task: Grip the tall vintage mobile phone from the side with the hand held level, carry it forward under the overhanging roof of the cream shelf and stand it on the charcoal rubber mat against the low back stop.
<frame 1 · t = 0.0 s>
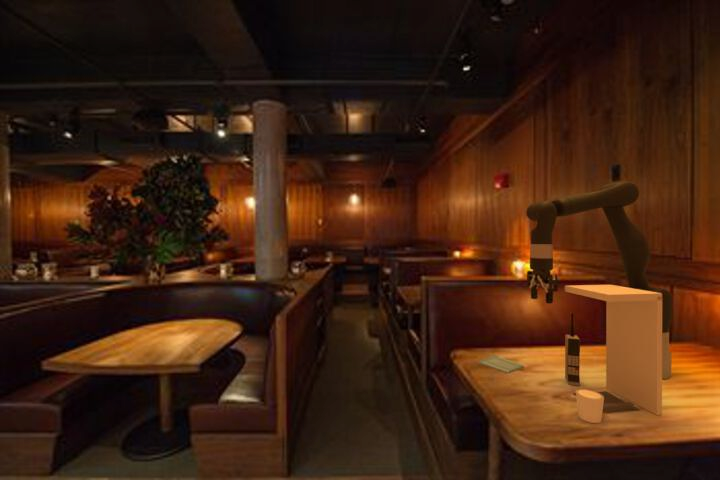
hand: (541, 301, 122), 29 cm above the table, tool pointing down, fingers open, 8 cm apart
vintage mobile phone: (572, 383, 121), on the table
overhang shelf: (604, 401, 107), on the table
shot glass: (589, 418, 98), on the table
waterproof phone case: (500, 366, 138), on the table
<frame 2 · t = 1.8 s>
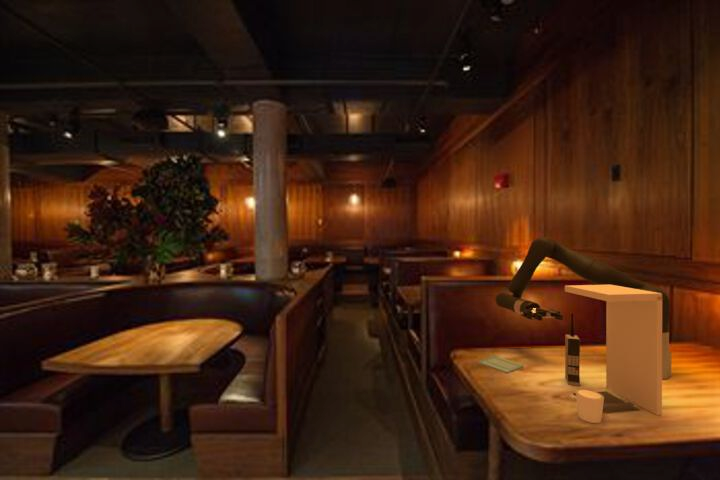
hand: (551, 318, 132), 21 cm above the table, tool horizontal, fingers open, 8 cm apart
nothing on the table moved.
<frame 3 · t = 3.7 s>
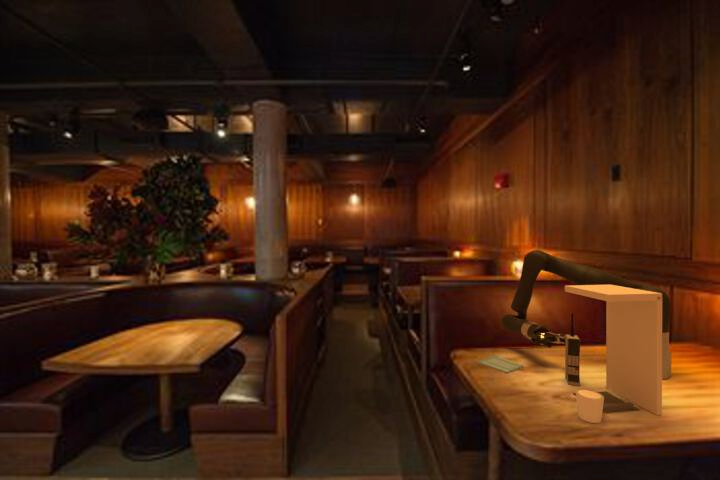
hand: (561, 344, 127), 12 cm above the table, tool horizontal, fingers open, 8 cm apart
nothing on the table moved.
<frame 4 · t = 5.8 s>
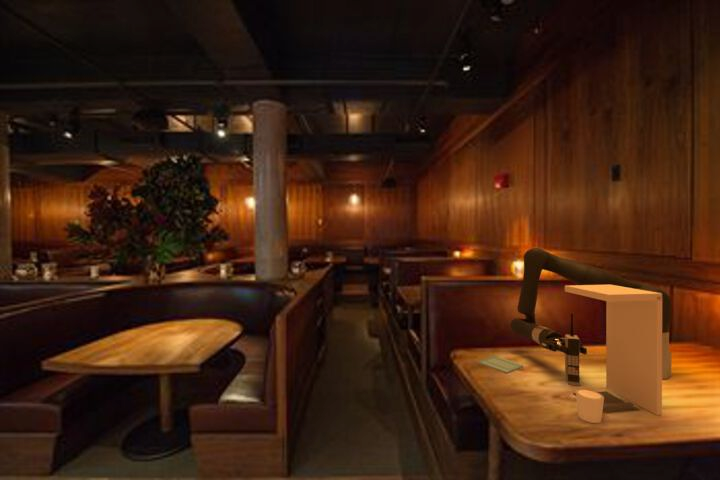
hand: (577, 351, 118), 12 cm above the table, tool horizontal, fingers closed on vintage mobile phone, 5 cm apart
vintage mobile phone: (572, 383, 121), on the table, touching gripper
everything else where it was.
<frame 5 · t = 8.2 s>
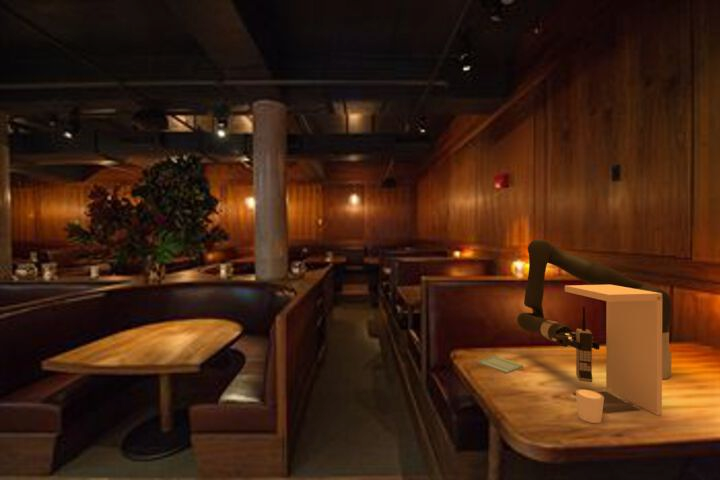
hand: (590, 347, 113), 16 cm above the table, tool horizontal, fingers closed on vintage mobile phone, 5 cm apart
vintage mobile phone: (584, 379, 115), point 3 cm above the table, touching gripper
everything else where it was.
when the fingers open (13 cm above the table, at t = 11.1 s): vintage mobile phone stays where it is, resting on overhang shelf.
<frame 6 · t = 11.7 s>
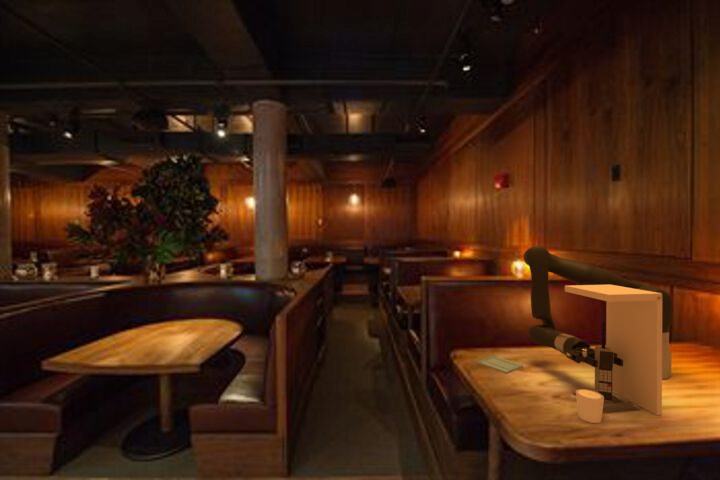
hand: (609, 363, 105), 13 cm above the table, tool horizontal, fingers open, 8 cm apart
vintage mobile phone: (603, 401, 107), resting on overhang shelf
everything else where it was.
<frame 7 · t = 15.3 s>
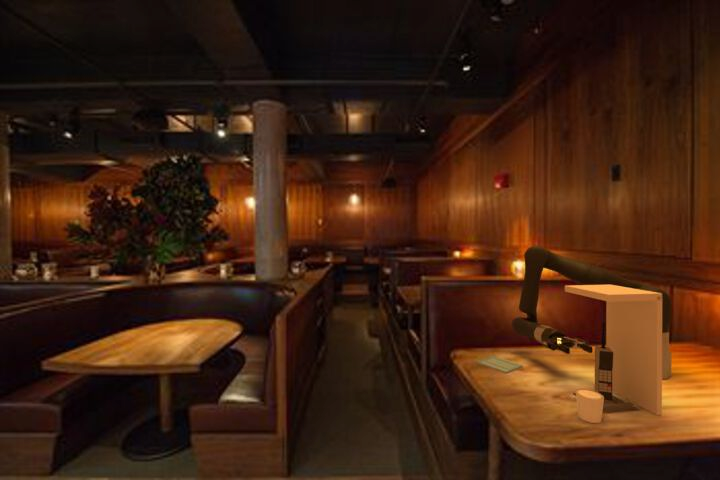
hand: (580, 350, 117), 13 cm above the table, tool horizontal, fingers open, 8 cm apart
nothing on the table moved.
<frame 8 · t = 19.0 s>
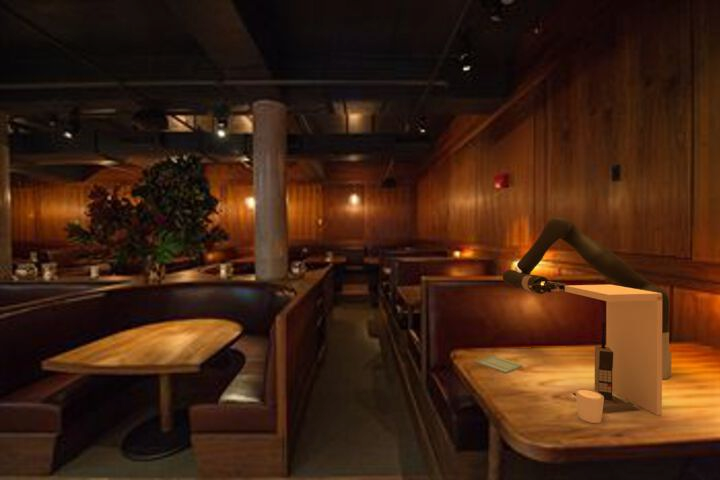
hand: (560, 289, 131), 32 cm above the table, tool horizontal, fingers open, 8 cm apart
nothing on the table moved.
at the end: vintage mobile phone 0.2 cm off-centre on the overhang shelf, point 0.1 cm above the overhang shelf's base; vintage mobile phone tilted 0°; the gripper is holding nothing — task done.
